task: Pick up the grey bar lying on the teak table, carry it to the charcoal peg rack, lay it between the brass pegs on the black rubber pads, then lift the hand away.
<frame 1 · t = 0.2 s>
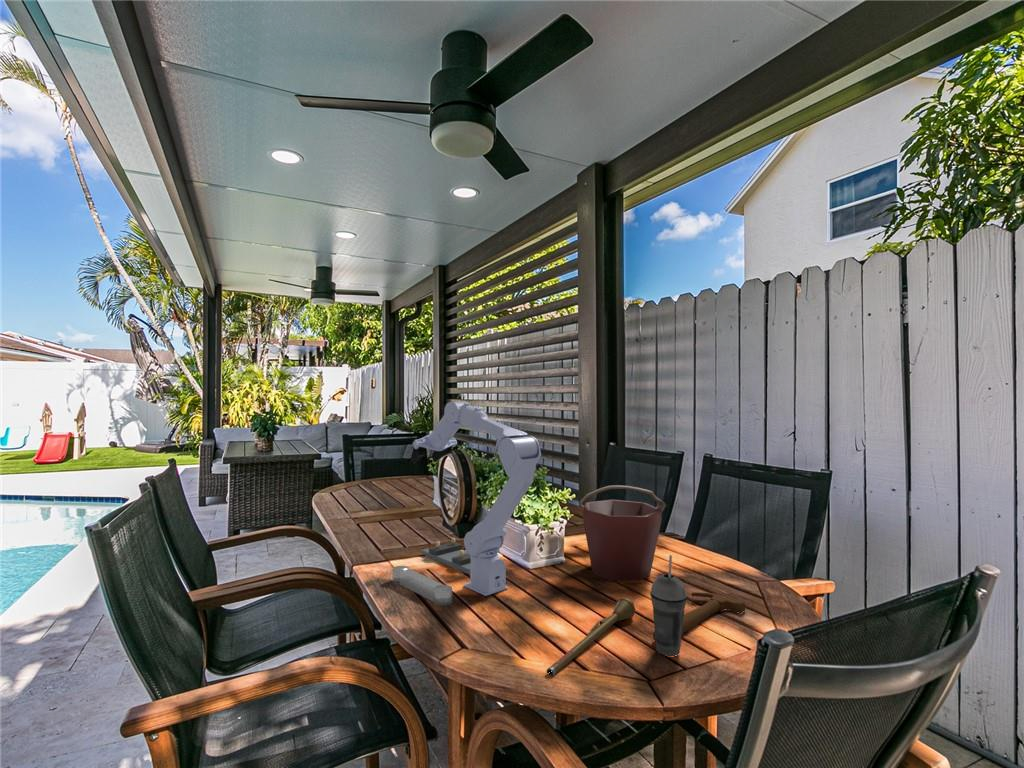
hand: (423, 460, 162), 31 cm above the table, fingers open, 7 cm apart
beverage cup: (668, 652, 109), on the table
grey bar: (420, 591, 140), on the table
bucket: (620, 572, 155), on the table
hammer: (690, 623, 123), on the table
panzerfaust rocket launcher: (595, 642, 113), on the table
peg rack: (457, 560, 164), on the table
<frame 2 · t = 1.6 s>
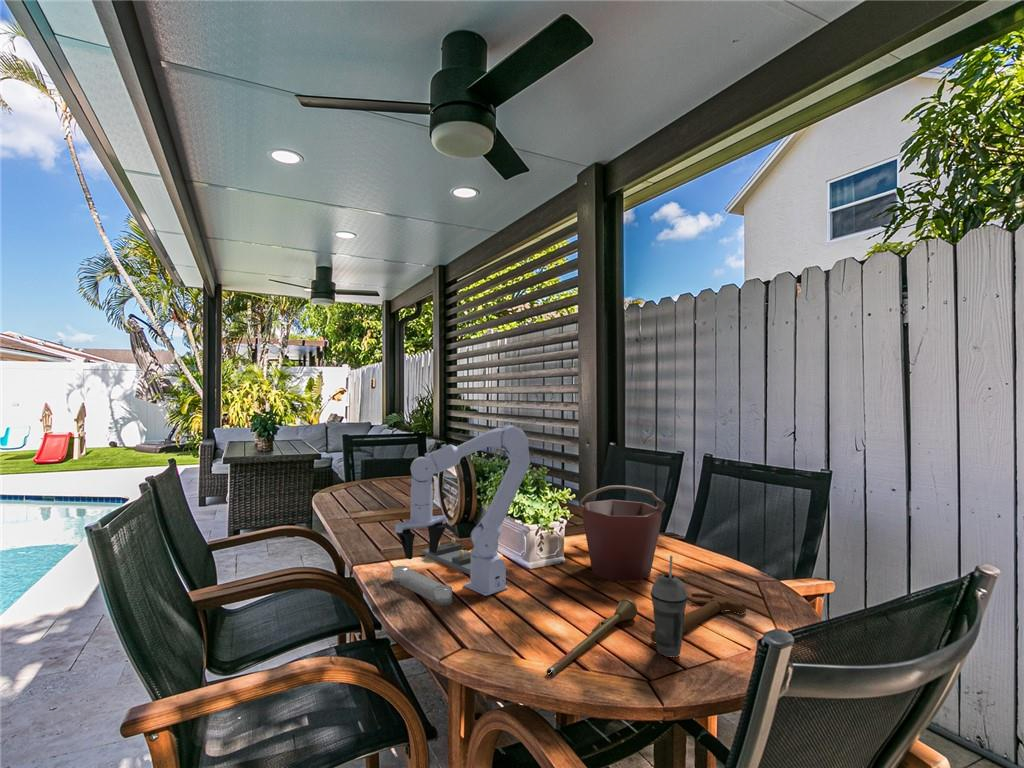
hand: (421, 555, 140), 9 cm above the table, fingers open, 7 cm apart
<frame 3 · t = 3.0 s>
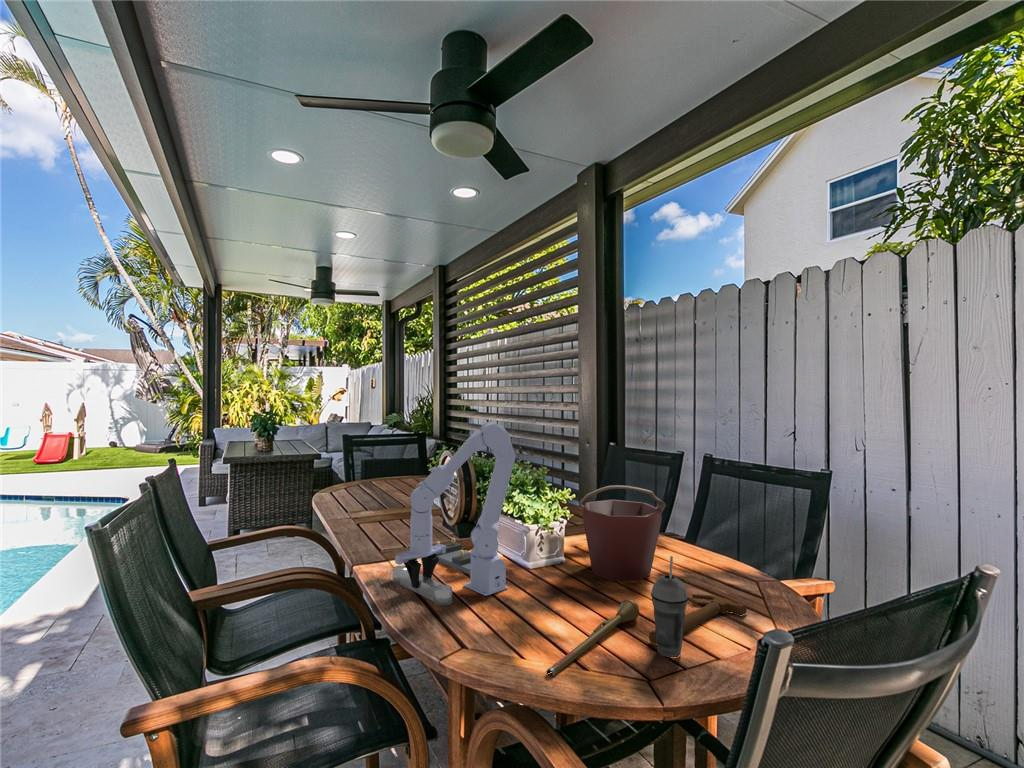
hand: (420, 585, 140), 1 cm above the table, fingers closed on grey bar, 3 cm apart
grey bar: (420, 591, 140), on the table, touching gripper
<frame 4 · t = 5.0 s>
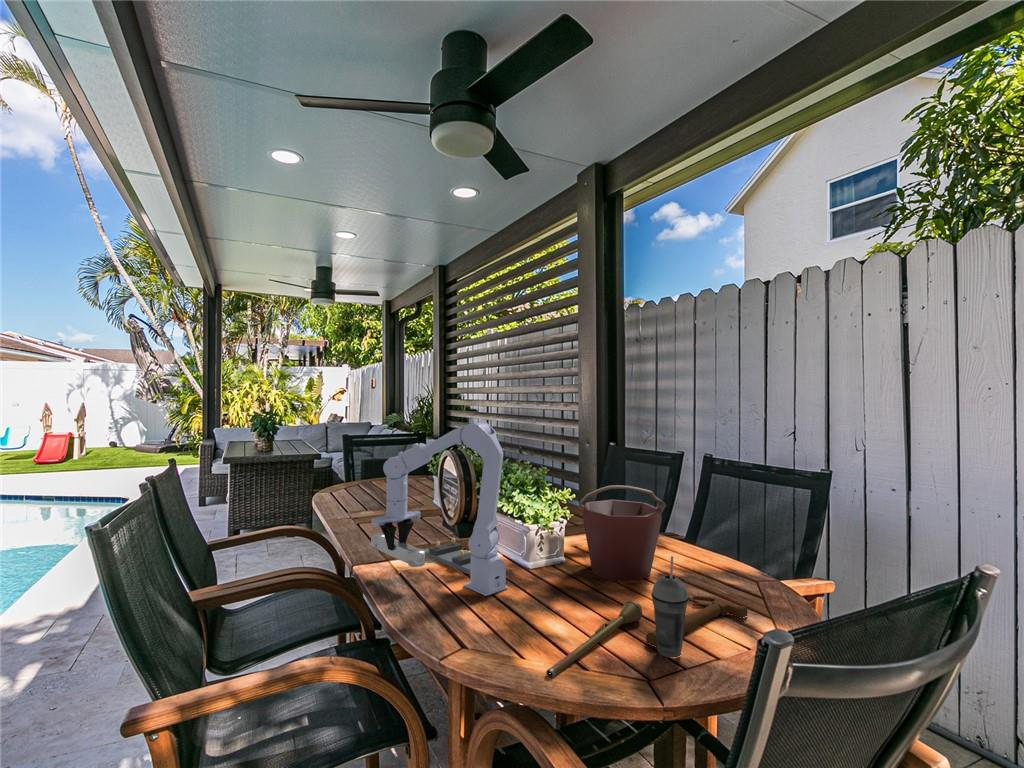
hand: (396, 548, 149), 8 cm above the table, fingers closed on grey bar, 3 cm apart
grey bar: (396, 555, 148), point 7 cm above the table, touching gripper
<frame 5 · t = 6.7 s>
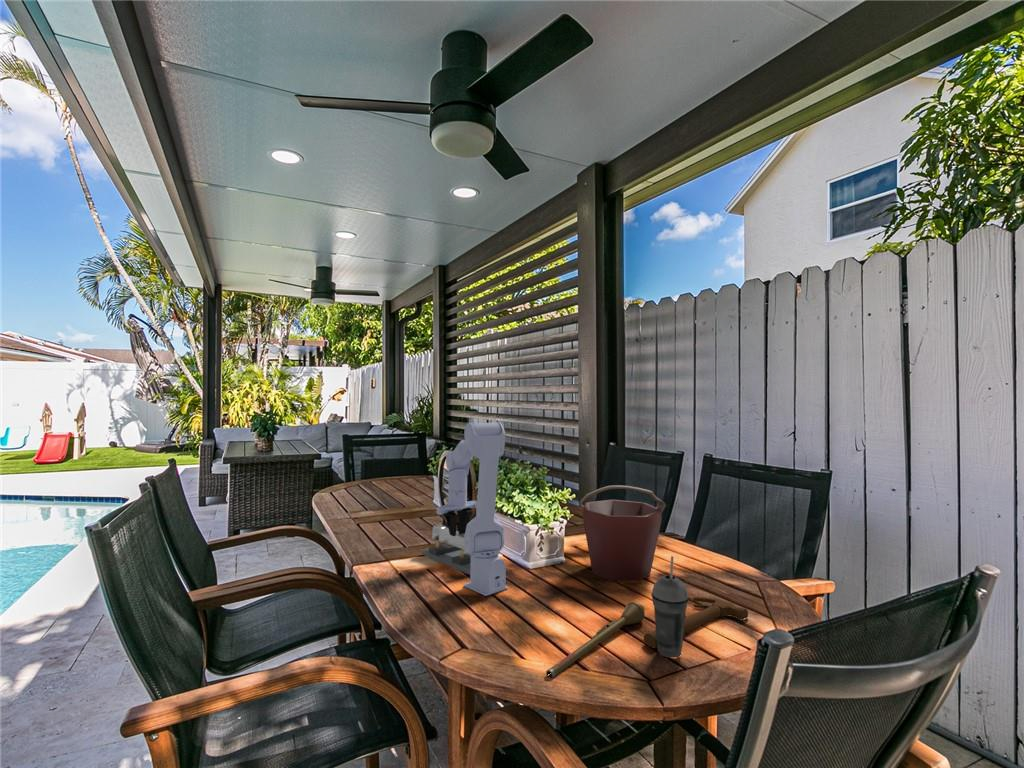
hand: (457, 534, 165), 8 cm above the table, fingers closed on grey bar, 3 cm apart
grey bar: (458, 545, 164), point 5 cm above the table, touching gripper
when the fingers open (6 cm above the table, at t = 7.3 s): grey bar stays where it is, resting on peg rack.
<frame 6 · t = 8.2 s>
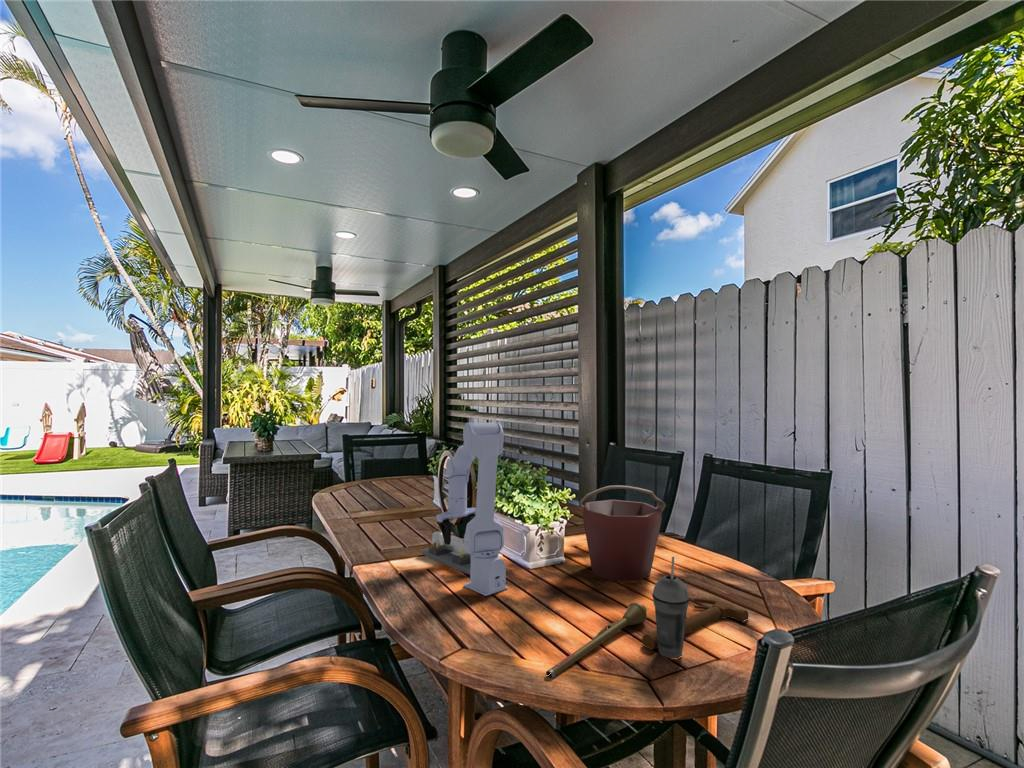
hand: (457, 541, 165), 6 cm above the table, fingers open, 7 cm apart
grey bar: (458, 551, 164), point 3 cm above the table, touching peg rack
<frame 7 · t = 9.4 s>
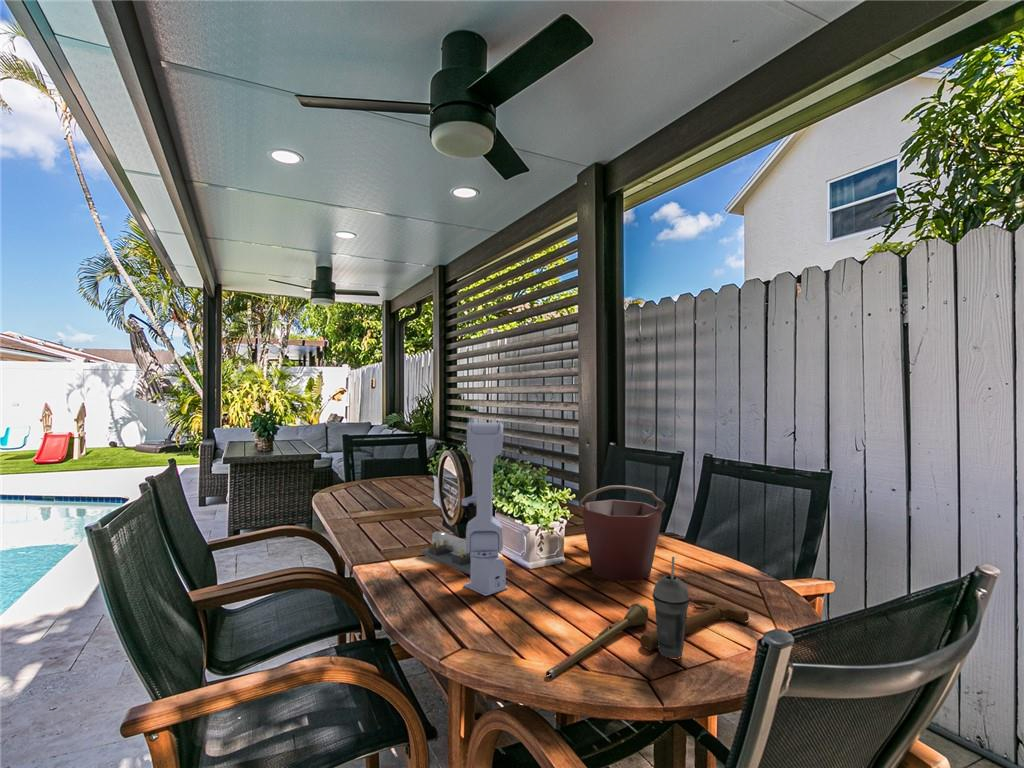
hand: (481, 525, 169), 10 cm above the table, fingers open, 7 cm apart
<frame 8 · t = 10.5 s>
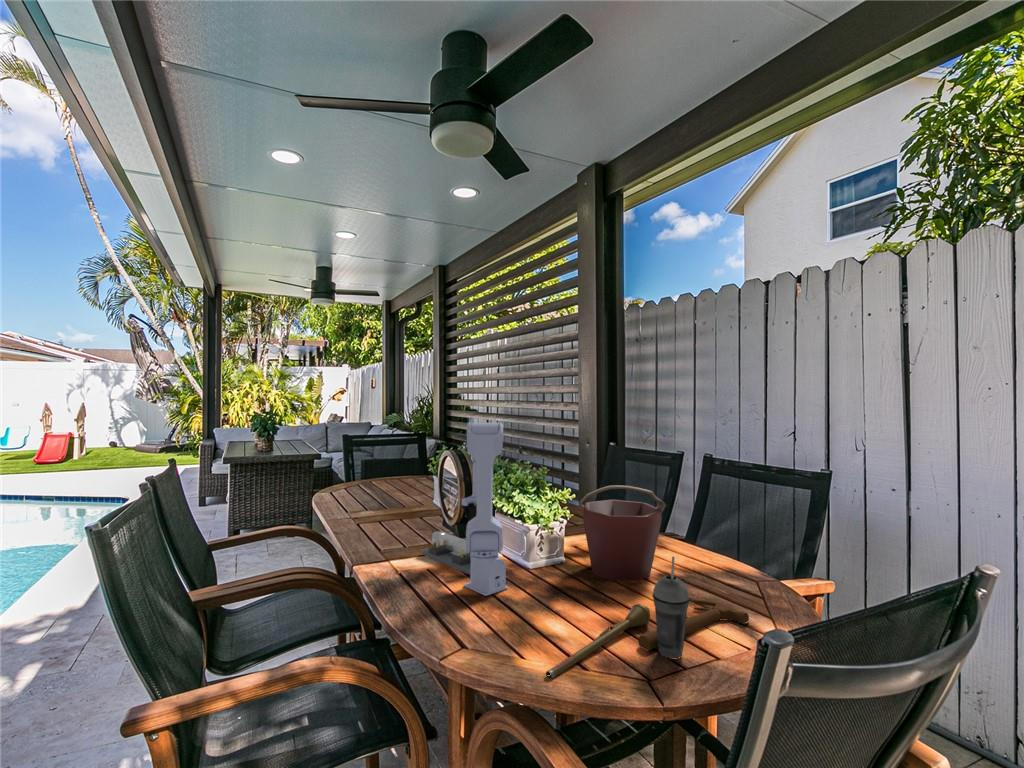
hand: (481, 525, 169), 10 cm above the table, fingers open, 7 cm apart
at the end: grey bar 0.4 cm off-centre on the peg rack, point 3.0 cm above the peg rack's base; grey bar touching peg rack; the gripper is holding nothing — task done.
